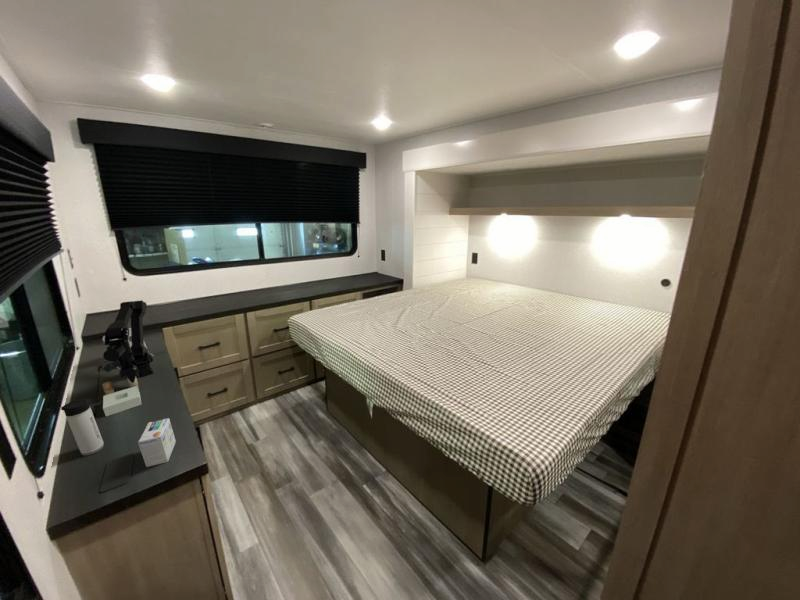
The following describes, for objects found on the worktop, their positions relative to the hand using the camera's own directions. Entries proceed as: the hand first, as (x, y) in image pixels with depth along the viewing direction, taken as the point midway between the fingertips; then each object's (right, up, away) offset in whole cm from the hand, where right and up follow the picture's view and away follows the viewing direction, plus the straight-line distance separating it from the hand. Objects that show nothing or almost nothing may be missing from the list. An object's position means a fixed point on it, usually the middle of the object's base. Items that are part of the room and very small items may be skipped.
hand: (132, 380), depth 156 cm
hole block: (+6, -7, -12) cm, 15 cm away
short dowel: (-7, -5, -4) cm, 10 cm away
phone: (+35, -19, -48) cm, 63 cm away
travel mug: (+17, -16, -38) cm, 44 cm away
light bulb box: (+44, -16, -41) cm, 62 cm away
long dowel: (0, -3, +1) cm, 4 cm away
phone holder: (-23, +4, +28) cm, 36 cm away
